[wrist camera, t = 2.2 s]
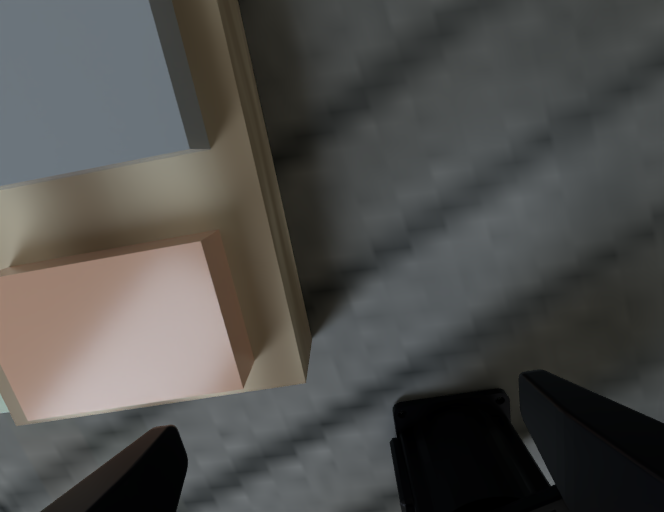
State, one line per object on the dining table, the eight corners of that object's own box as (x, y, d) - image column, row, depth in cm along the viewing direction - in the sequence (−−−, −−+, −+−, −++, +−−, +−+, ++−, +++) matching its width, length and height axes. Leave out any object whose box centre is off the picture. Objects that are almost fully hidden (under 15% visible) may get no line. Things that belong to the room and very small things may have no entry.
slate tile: (161, -38, 12) (128, -74, 10) (210, 149, 14) (190, 149, 12) (-87, 20, 13) (-163, -4, 11) (-11, 192, 14) (-66, 199, 12)
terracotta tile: (218, 229, 14) (200, 240, 13) (254, 360, 16) (243, 389, 14) (9, 266, 15) (-40, 283, 13) (63, 390, 17) (28, 421, 15)
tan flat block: (229, -39, 15) (192, -103, 12) (311, 339, 20) (305, 383, 16) (-74, 30, 16) (-201, -8, 12) (75, 376, 21) (16, 425, 17)
